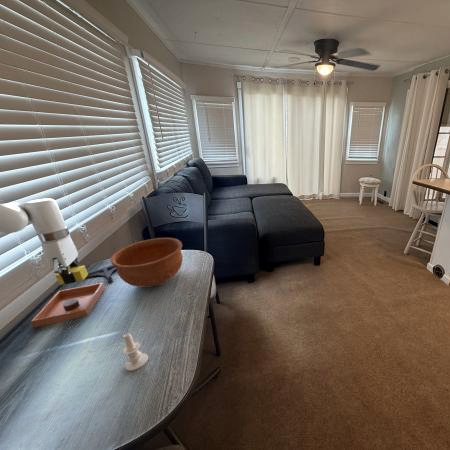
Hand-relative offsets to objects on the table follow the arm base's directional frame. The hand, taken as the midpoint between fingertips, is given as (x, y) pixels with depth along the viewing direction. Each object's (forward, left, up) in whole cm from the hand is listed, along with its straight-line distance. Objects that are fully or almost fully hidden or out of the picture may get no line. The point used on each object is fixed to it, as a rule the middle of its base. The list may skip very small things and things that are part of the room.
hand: (73, 278), depth 89 cm
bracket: (+5, +13, -9) cm, 17 cm away
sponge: (0, 0, 0) cm, 0 cm away
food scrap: (0, -7, -8) cm, 10 cm away
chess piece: (+27, -42, -9) cm, 50 cm away
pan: (0, -6, -8) cm, 10 cm away
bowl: (+26, 0, -9) cm, 27 cm away
